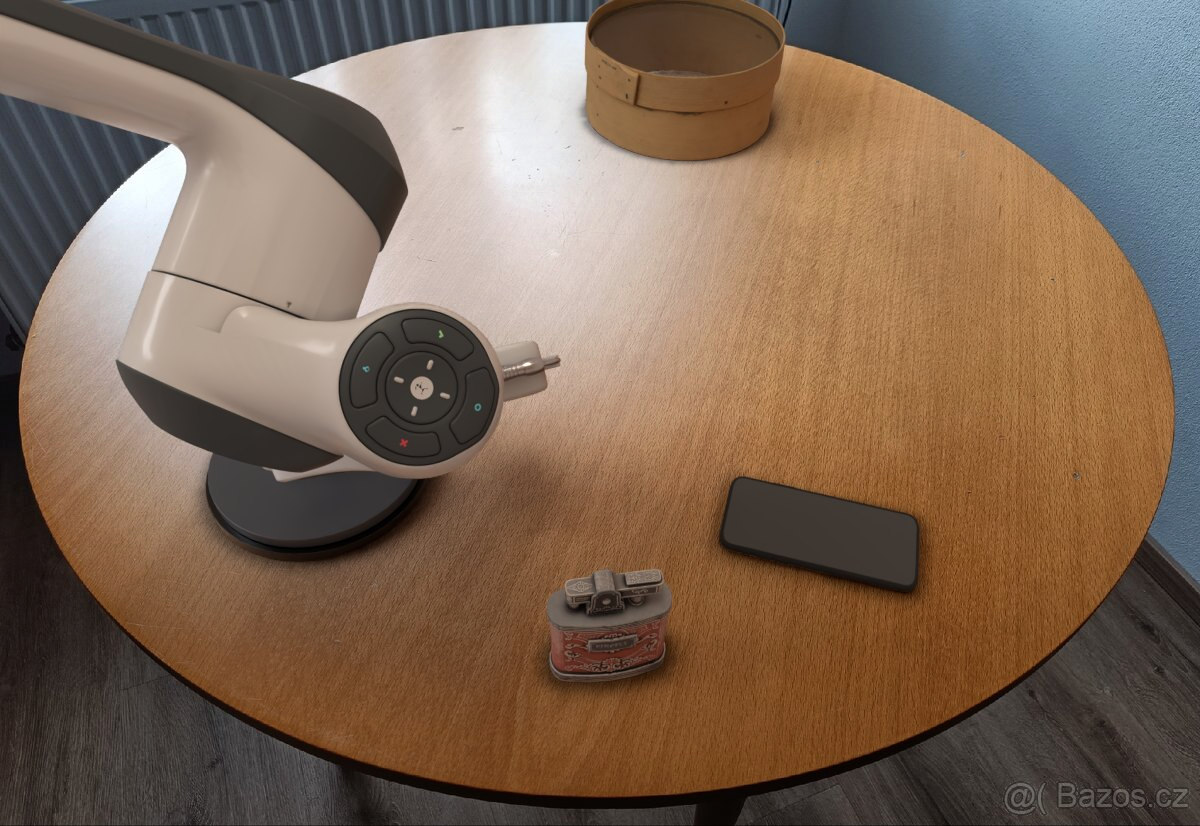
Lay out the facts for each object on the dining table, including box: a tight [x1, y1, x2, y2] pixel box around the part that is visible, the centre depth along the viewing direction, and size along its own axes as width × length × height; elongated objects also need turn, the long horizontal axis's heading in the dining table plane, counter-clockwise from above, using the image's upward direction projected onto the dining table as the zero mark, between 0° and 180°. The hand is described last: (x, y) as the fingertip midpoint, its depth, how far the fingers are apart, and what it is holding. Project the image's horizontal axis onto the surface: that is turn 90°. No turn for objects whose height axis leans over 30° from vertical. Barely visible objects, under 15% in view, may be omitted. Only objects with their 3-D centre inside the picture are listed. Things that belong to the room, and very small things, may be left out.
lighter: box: [546, 568, 673, 683], centre depth 56 cm, size 8×3×10 cm, turn 99°
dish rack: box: [207, 453, 418, 548], centre depth 66 cm, size 17×17×13 cm
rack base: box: [205, 471, 431, 562], centre depth 71 cm, size 18×18×1 cm
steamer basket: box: [584, 0, 787, 161], centre depth 110 cm, size 25×25×11 cm
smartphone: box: [718, 475, 920, 593], centre depth 67 cm, size 7×1×15 cm
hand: (399, 401), depth 66 cm, fingers closed
